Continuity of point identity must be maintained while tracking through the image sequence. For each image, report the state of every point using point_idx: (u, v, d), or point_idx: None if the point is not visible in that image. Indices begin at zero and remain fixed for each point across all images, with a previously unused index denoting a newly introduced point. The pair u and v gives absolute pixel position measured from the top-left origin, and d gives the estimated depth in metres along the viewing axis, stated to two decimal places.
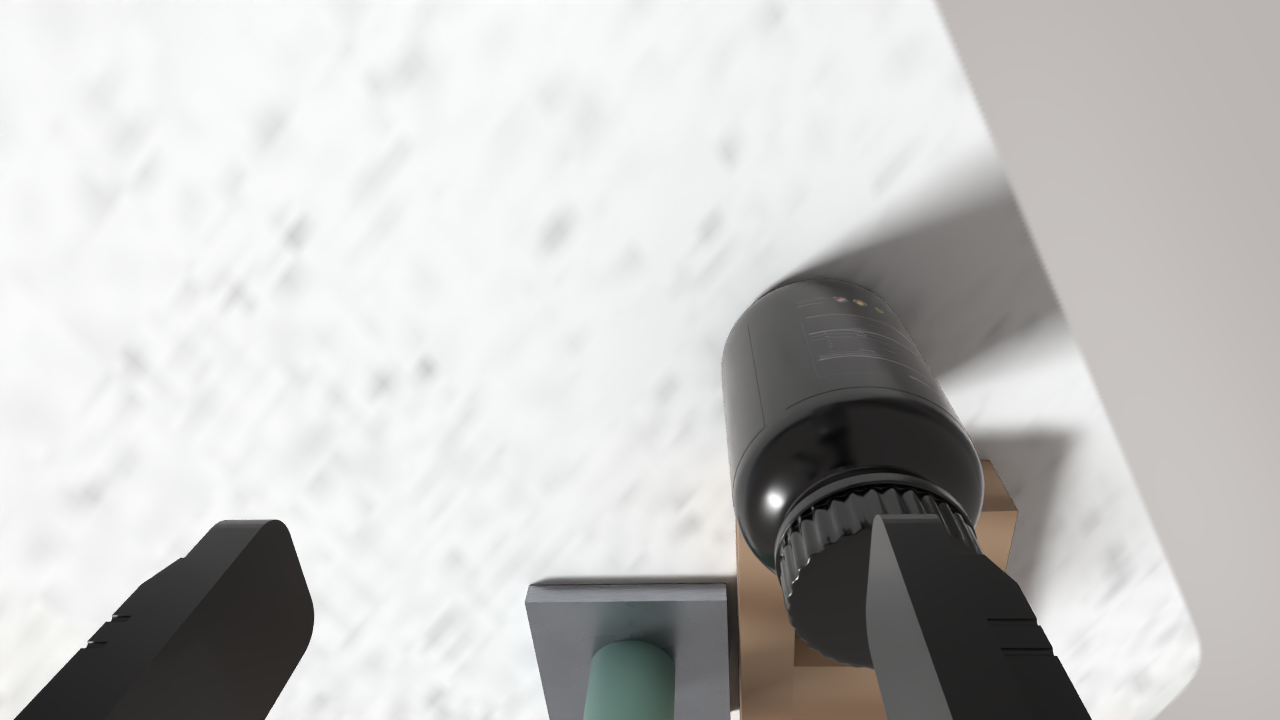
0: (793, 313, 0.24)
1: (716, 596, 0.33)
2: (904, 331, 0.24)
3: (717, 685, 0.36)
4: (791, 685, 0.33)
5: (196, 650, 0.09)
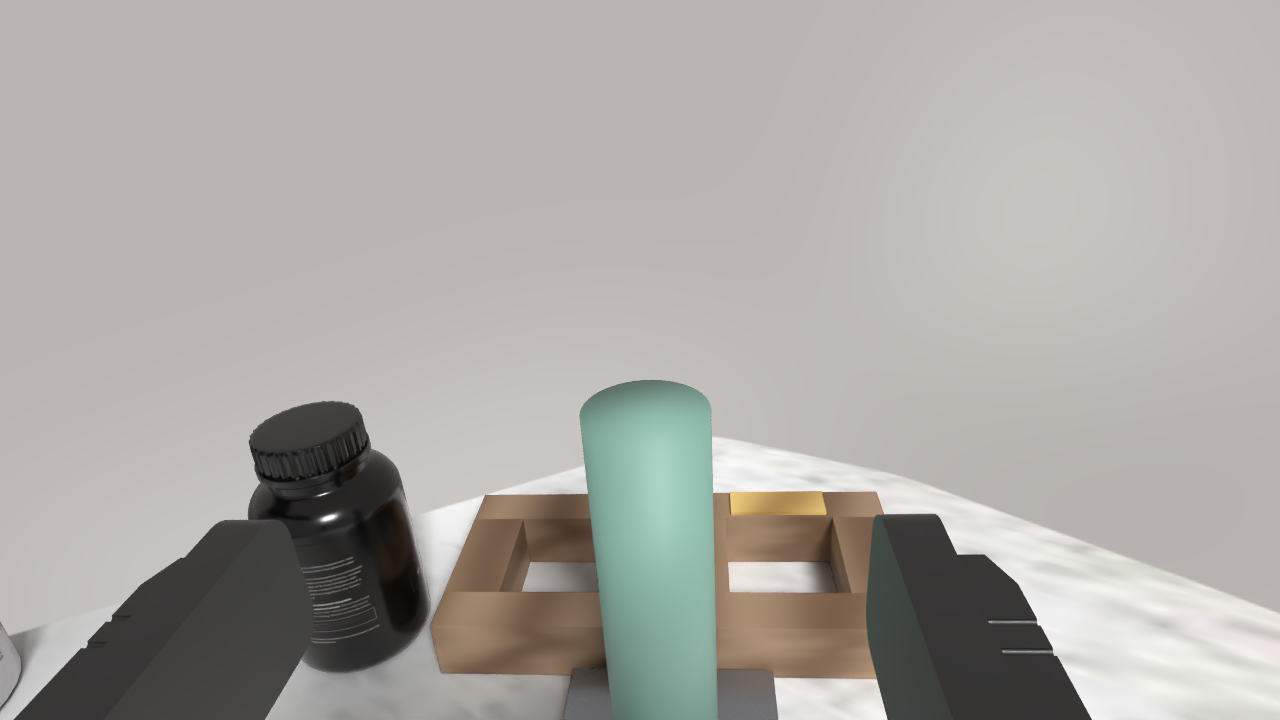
0: None
1: (571, 680, 0.34)
2: None
3: None
4: None
5: (197, 651, 0.09)
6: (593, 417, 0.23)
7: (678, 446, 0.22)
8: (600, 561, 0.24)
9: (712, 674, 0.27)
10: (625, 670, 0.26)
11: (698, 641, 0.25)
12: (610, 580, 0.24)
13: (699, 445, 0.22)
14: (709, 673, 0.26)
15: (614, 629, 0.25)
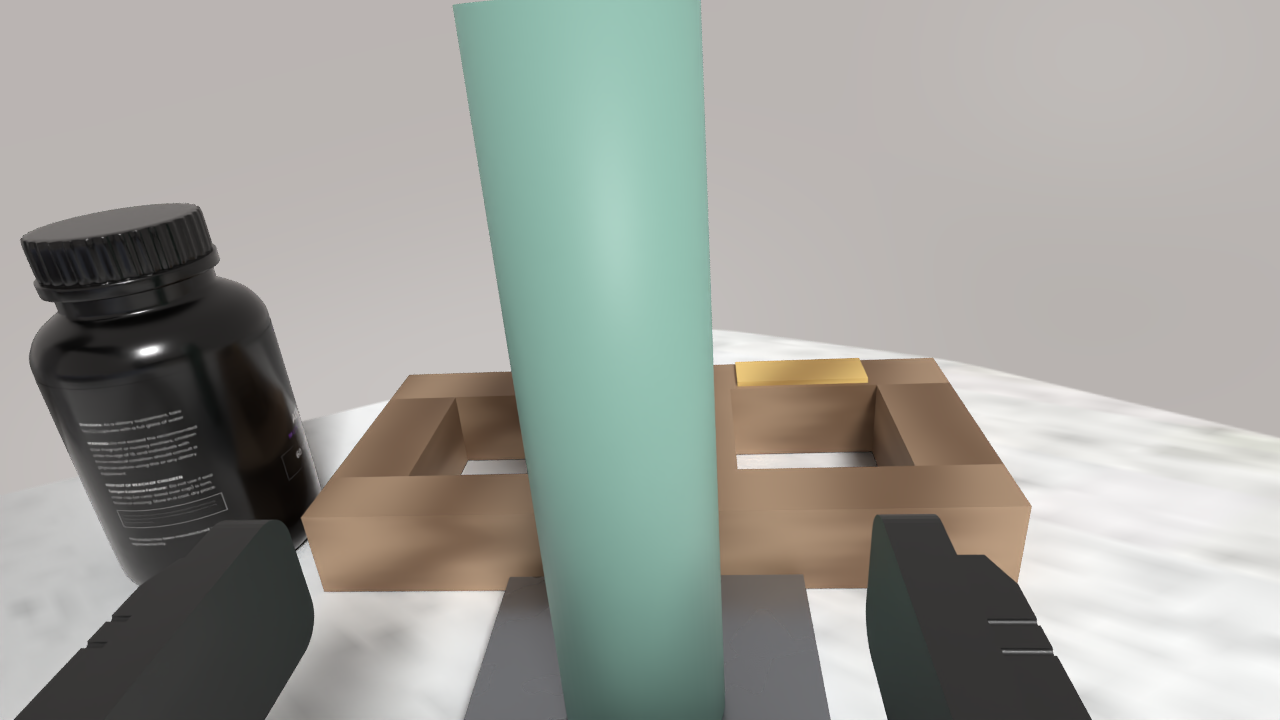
0: None
1: (507, 593, 0.23)
2: None
3: None
4: None
5: (197, 651, 0.09)
6: None
7: (634, 6, 0.11)
8: (506, 305, 0.14)
9: (711, 534, 0.16)
10: (560, 518, 0.15)
11: (684, 458, 0.14)
12: (524, 337, 0.13)
13: (676, 26, 0.11)
14: (706, 529, 0.15)
15: (537, 441, 0.14)
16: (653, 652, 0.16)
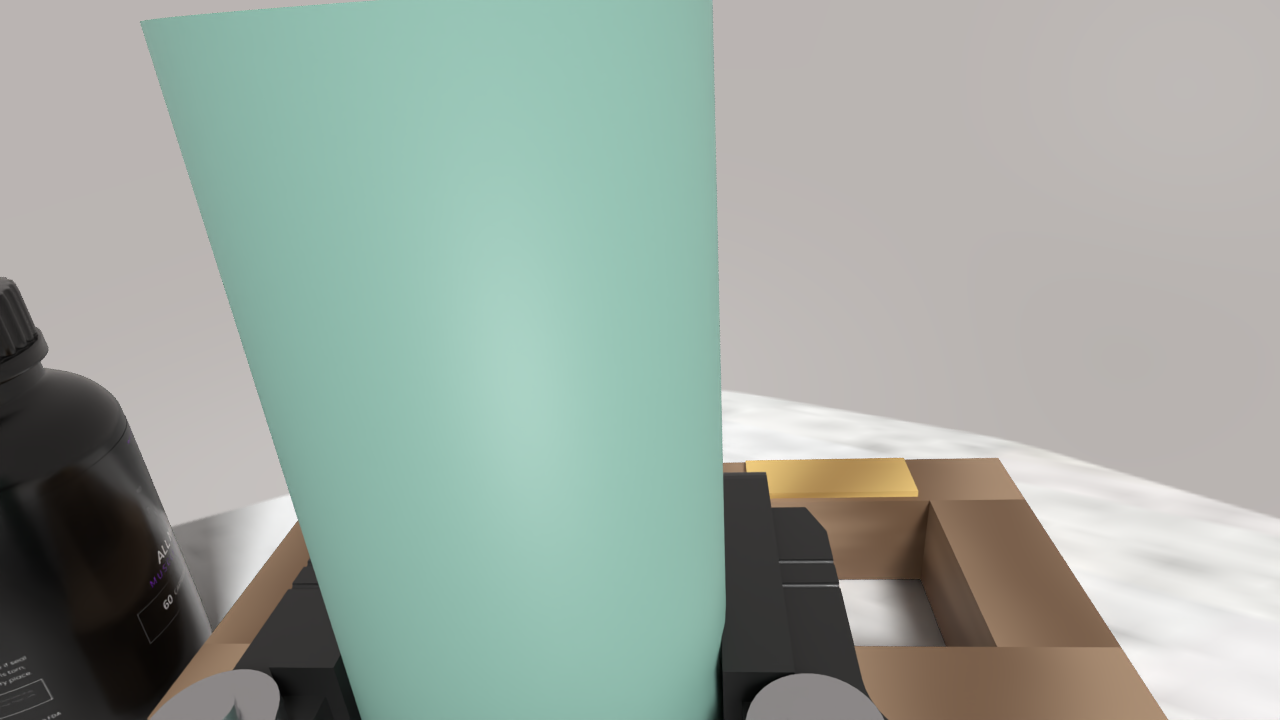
0: None
1: None
2: None
3: None
4: None
5: None
6: None
7: (543, 36, 0.04)
8: (326, 607, 0.07)
9: None
10: None
11: None
12: (355, 677, 0.07)
13: (656, 78, 0.05)
14: None
15: None
16: None
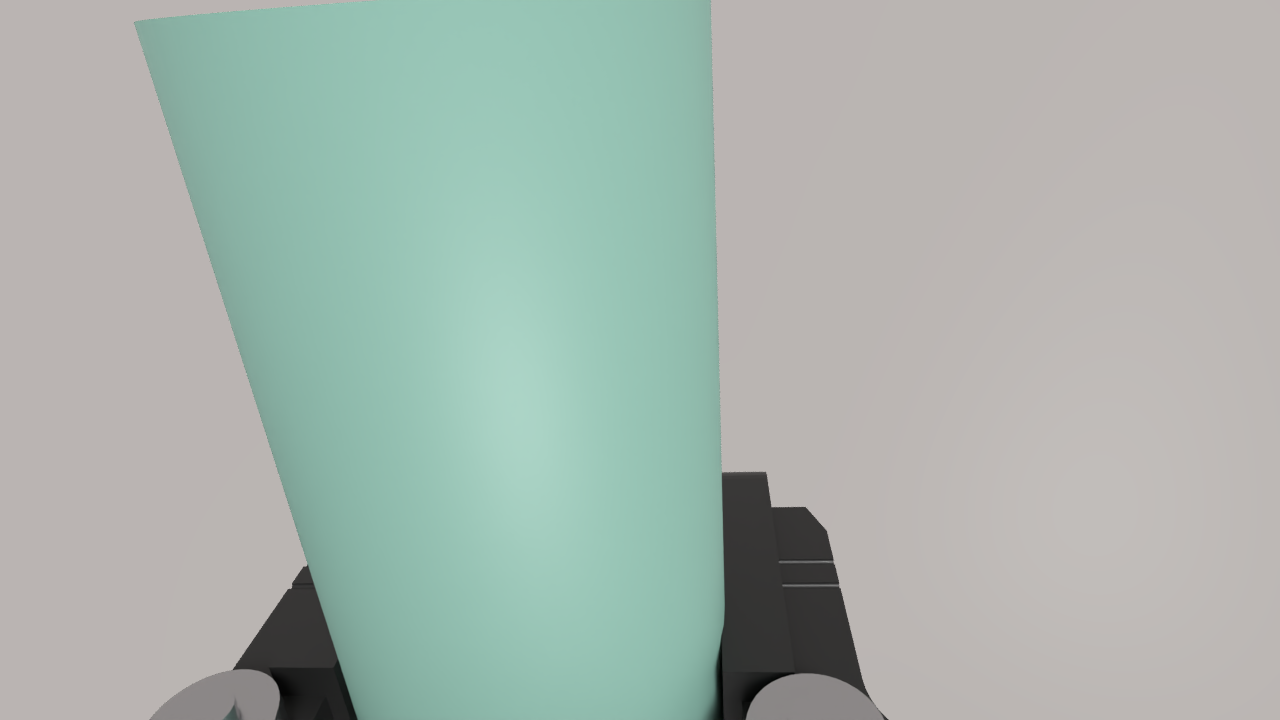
0: None
1: None
2: None
3: None
4: None
5: None
6: None
7: (539, 37, 0.04)
8: (323, 610, 0.07)
9: None
10: None
11: None
12: (352, 682, 0.07)
13: (654, 78, 0.05)
14: None
15: None
16: None
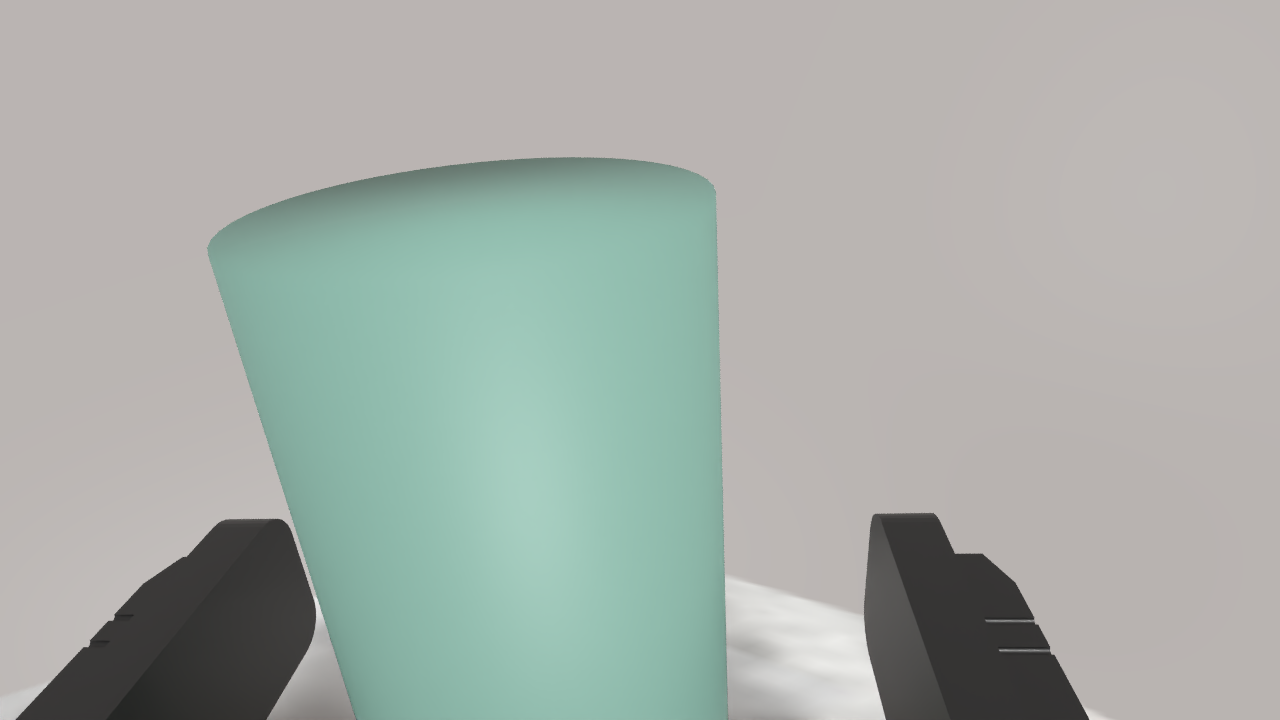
0: None
1: None
2: None
3: None
4: None
5: (200, 649, 0.09)
6: (275, 223, 0.06)
7: (568, 296, 0.05)
8: None
9: None
10: None
11: None
12: None
13: (667, 308, 0.05)
14: None
15: None
16: None
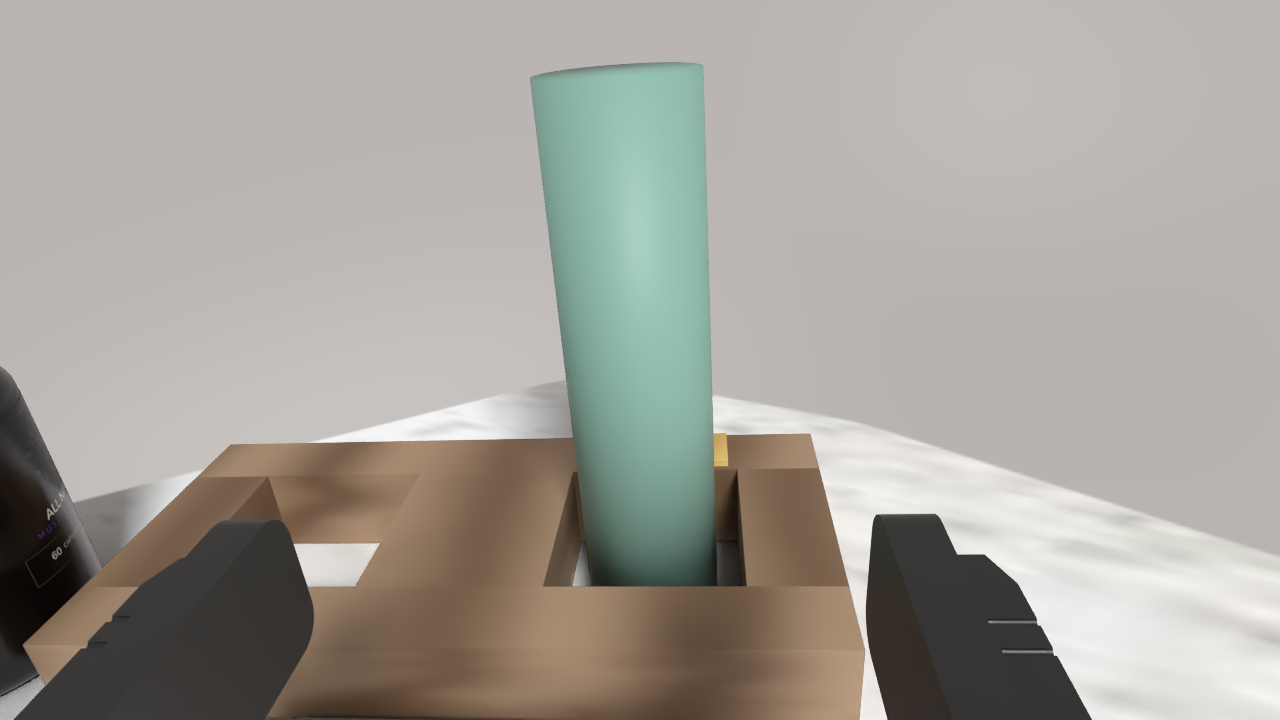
0: None
1: None
2: None
3: None
4: (395, 588, 0.21)
5: (197, 650, 0.09)
6: (547, 76, 0.17)
7: (658, 87, 0.16)
8: (561, 289, 0.19)
9: (708, 463, 0.21)
10: (596, 447, 0.20)
11: (688, 403, 0.20)
12: (573, 313, 0.19)
13: (686, 97, 0.17)
14: (704, 459, 0.21)
15: (581, 389, 0.20)
16: (663, 551, 0.21)
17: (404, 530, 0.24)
